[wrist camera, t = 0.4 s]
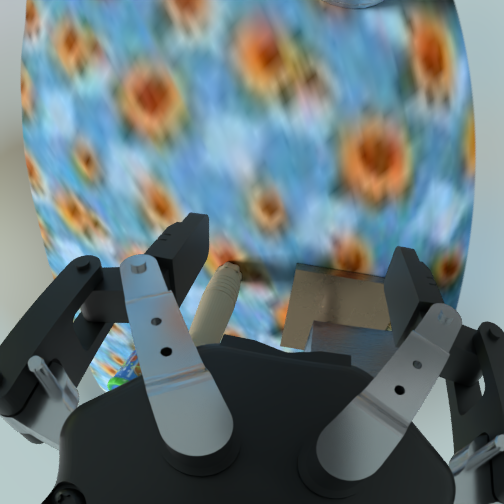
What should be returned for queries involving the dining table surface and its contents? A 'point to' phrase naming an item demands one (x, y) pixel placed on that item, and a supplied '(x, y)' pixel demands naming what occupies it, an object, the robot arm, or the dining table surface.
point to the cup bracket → (339, 316)
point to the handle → (216, 305)
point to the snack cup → (126, 372)
